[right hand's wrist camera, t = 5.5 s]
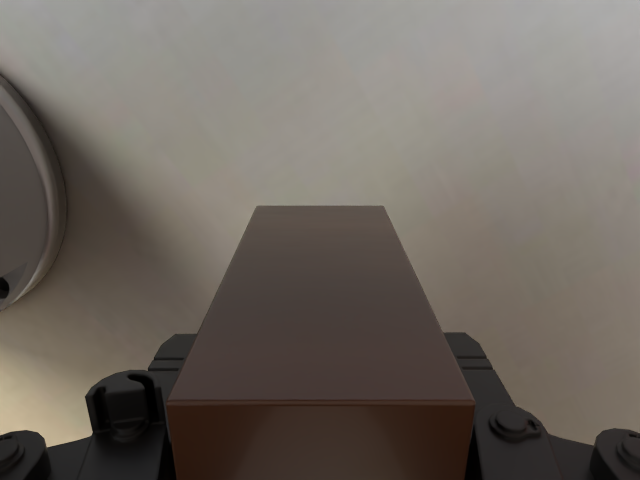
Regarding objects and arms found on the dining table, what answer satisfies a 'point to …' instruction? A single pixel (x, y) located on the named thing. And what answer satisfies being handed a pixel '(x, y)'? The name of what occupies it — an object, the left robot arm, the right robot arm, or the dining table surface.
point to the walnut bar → (320, 361)
